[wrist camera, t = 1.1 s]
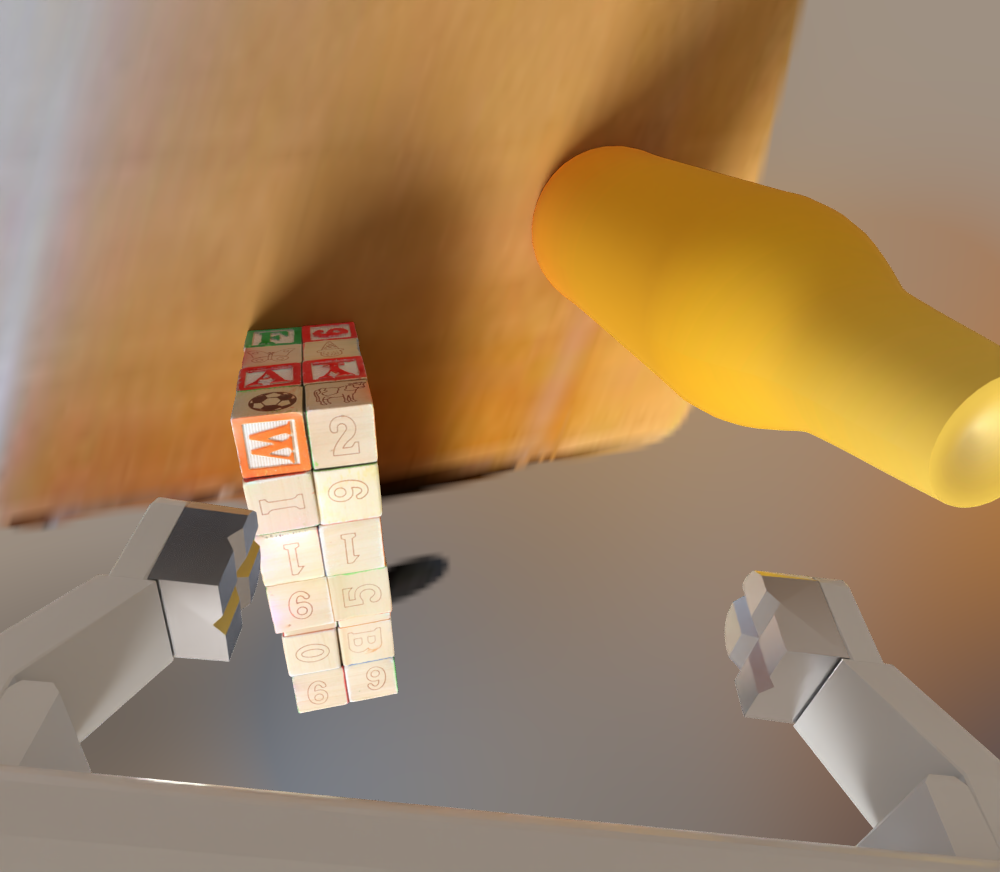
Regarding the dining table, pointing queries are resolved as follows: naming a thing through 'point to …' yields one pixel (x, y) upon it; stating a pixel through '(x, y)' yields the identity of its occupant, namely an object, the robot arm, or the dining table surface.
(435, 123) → the dining table surface
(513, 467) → the dining table surface
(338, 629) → the stack of blocks
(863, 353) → the yellow bottle
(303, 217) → the dining table surface
